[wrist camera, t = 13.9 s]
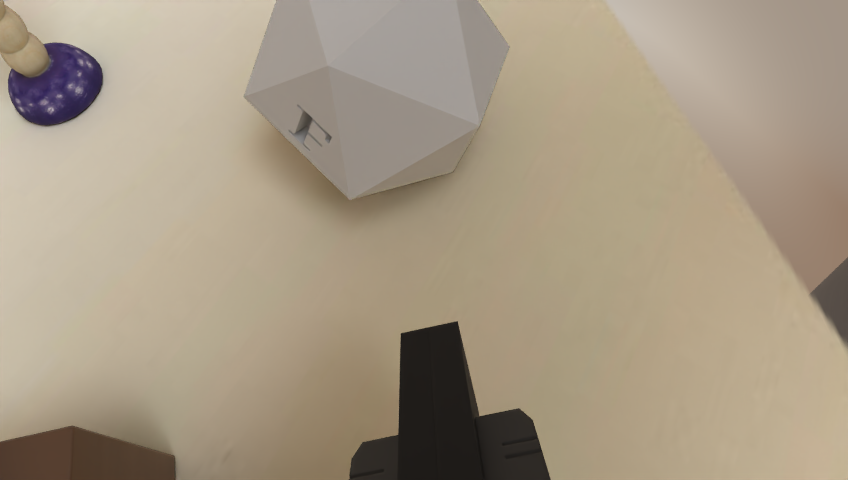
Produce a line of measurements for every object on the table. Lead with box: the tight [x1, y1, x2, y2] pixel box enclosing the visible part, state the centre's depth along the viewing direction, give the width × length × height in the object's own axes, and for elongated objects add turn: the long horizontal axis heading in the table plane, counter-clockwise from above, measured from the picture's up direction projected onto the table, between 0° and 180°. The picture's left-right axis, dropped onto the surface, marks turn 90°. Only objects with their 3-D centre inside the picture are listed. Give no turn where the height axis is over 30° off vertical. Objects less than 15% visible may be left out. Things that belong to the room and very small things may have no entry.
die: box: [244, 0, 510, 200], centre depth 25 cm, size 8×9×10 cm
